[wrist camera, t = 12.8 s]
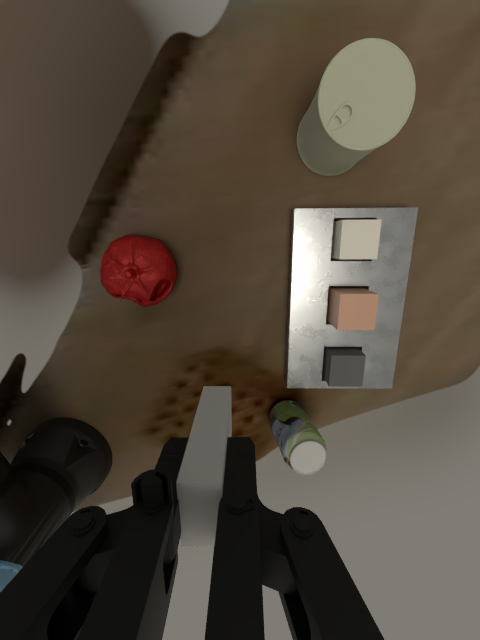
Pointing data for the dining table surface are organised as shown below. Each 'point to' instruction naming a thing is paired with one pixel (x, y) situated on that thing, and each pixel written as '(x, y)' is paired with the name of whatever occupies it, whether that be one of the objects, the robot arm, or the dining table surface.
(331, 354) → the charcoal key
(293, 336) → the key panel
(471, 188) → the dining table surface
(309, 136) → the can
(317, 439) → the beverage can
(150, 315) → the dining table surface
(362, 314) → the terracotta key
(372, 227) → the cream key
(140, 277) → the pomegranate
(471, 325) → the dining table surface
